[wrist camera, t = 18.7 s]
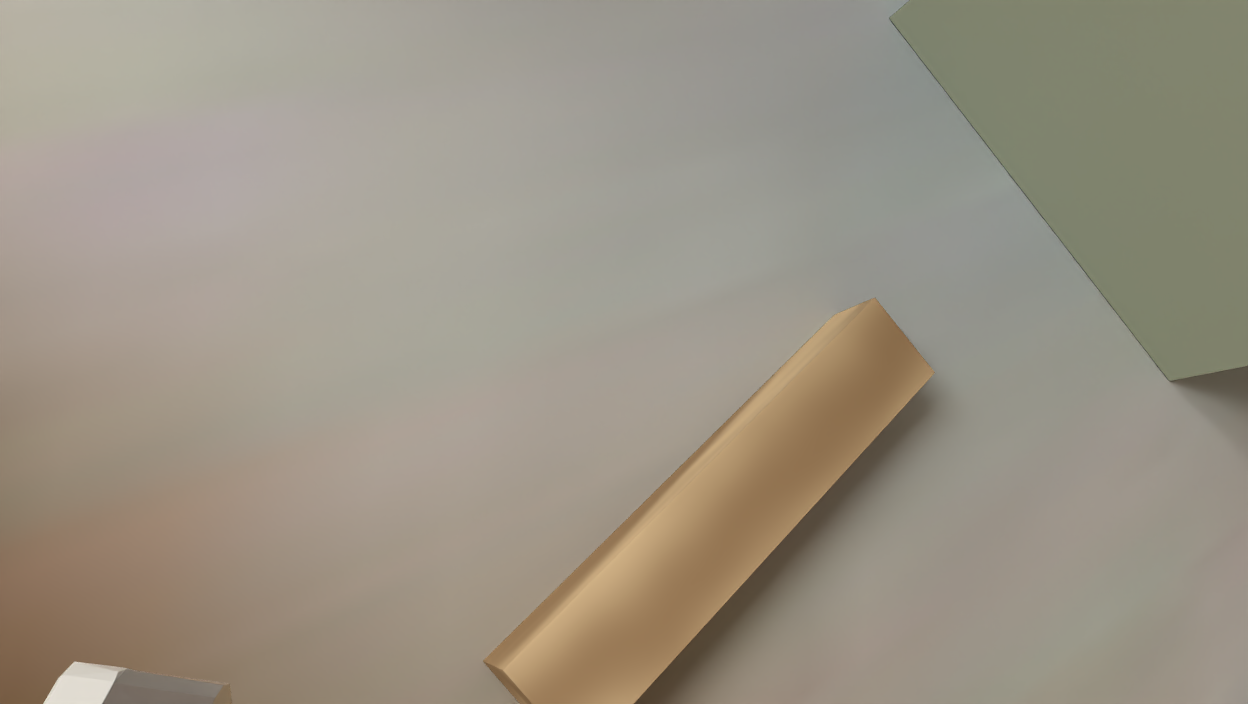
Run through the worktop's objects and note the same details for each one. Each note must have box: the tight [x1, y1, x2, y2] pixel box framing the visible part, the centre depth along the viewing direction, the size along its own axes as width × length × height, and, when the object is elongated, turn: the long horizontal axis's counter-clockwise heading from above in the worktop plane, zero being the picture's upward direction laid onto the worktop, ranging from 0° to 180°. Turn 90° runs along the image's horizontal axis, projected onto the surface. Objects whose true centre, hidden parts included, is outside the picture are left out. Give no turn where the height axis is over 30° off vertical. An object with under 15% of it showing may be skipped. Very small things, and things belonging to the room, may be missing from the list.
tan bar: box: [483, 298, 935, 704], centre depth 32 cm, size 4×18×3 cm, turn 133°
